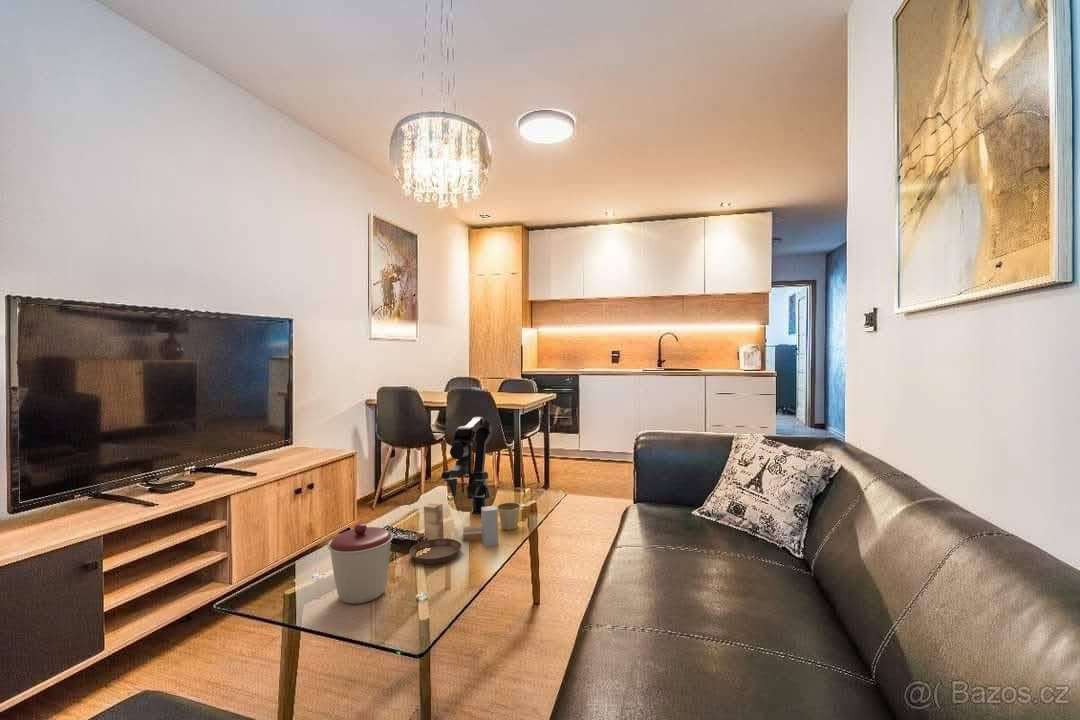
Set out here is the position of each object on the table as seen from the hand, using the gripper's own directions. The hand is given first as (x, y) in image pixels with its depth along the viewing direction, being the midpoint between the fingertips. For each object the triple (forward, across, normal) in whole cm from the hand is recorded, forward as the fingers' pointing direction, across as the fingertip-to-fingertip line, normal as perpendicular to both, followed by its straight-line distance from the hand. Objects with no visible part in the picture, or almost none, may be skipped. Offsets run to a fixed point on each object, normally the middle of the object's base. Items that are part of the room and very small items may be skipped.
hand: (464, 497), depth 199 cm
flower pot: (+12, +17, +6) cm, 22 cm away
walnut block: (+14, +8, -6) cm, 17 cm away
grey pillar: (+15, +17, -10) cm, 25 cm away
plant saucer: (+17, +3, -25) cm, 30 cm away
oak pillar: (+14, -6, -12) cm, 19 cm away
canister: (+22, -3, -56) cm, 60 cm away
